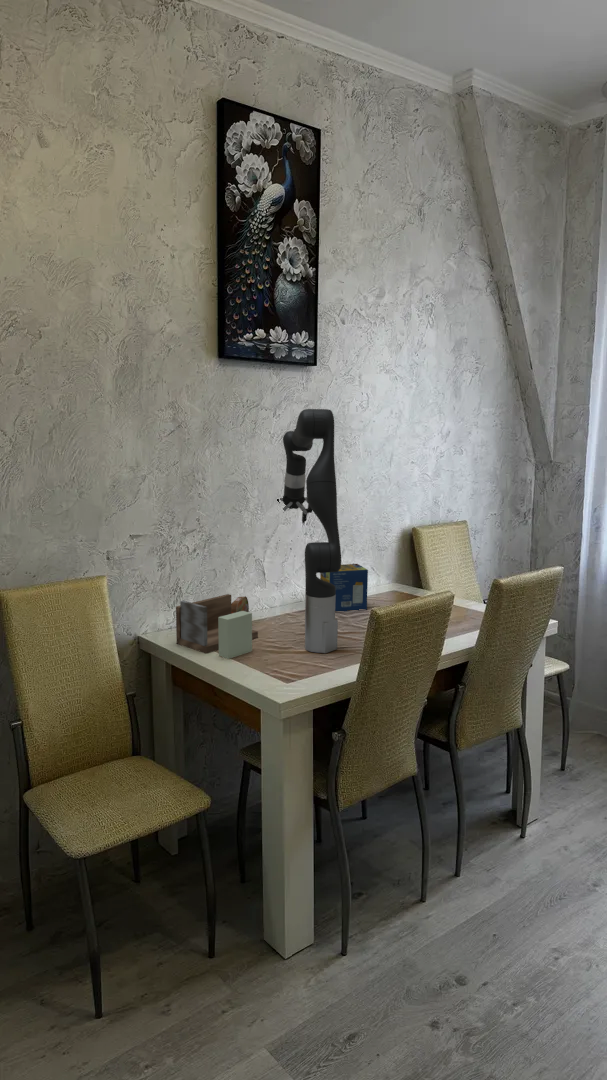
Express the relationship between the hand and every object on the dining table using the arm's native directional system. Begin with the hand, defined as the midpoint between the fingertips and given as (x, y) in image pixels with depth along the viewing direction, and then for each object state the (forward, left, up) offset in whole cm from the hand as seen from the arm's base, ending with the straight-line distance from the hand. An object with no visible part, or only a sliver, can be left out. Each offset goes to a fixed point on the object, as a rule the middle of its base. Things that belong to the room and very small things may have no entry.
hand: (291, 522), depth 281 cm
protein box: (-19, -8, -31) cm, 38 cm away
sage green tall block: (-28, +56, -31) cm, 70 cm away
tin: (-5, +32, -31) cm, 45 cm away
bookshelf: (-15, +51, -31) cm, 62 cm away
